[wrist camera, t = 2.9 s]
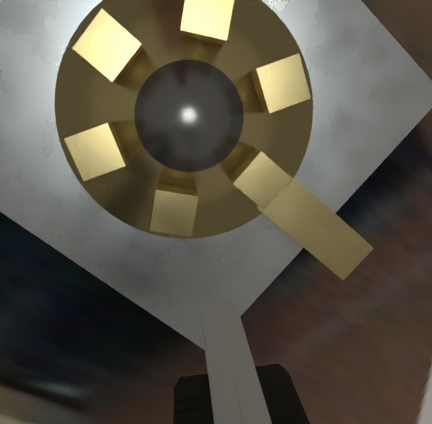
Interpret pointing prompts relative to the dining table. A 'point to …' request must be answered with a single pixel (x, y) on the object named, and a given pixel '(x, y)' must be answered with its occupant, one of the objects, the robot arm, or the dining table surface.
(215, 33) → the gold knob with handle
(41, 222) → the flange plate
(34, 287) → the dining table surface
